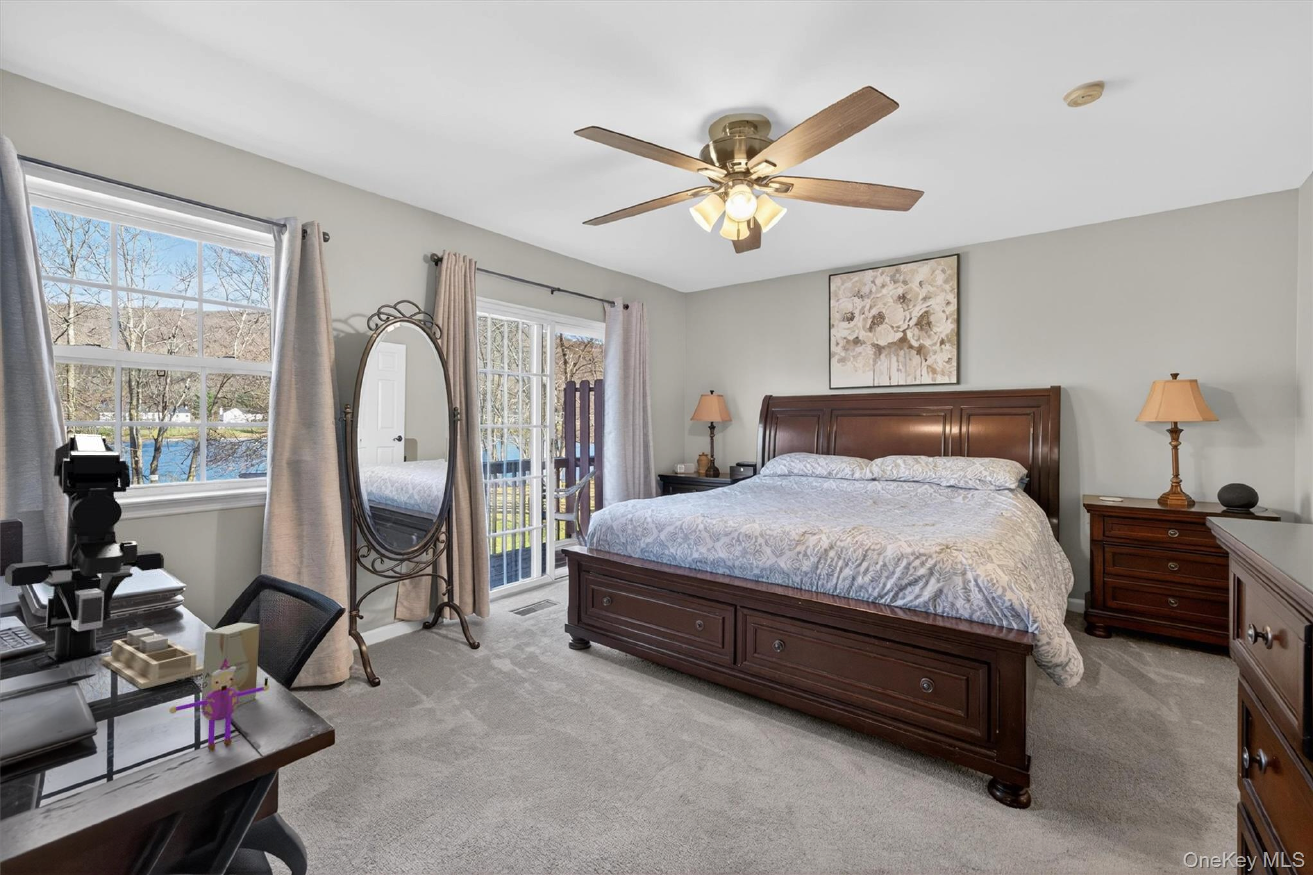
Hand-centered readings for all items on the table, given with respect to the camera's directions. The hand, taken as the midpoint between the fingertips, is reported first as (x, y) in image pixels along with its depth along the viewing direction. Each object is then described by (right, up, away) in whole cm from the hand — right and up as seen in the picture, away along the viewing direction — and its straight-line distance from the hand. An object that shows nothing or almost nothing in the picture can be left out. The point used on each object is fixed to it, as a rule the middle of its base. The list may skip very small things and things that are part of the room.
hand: (87, 617), depth 99 cm
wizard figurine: (+36, -12, -18) cm, 42 cm away
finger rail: (+3, -12, +10) cm, 16 cm away
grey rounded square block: (0, -2, 0) cm, 2 cm away
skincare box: (+28, -13, -5) cm, 31 cm away
